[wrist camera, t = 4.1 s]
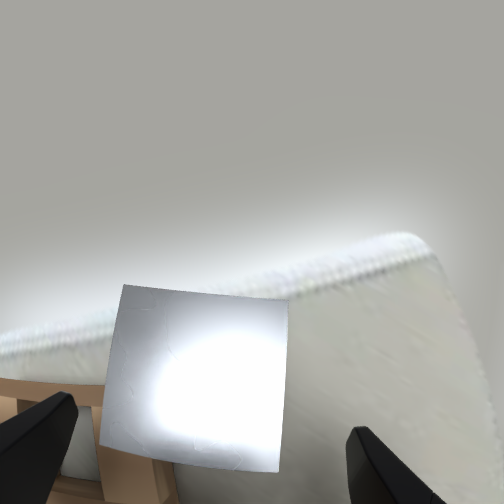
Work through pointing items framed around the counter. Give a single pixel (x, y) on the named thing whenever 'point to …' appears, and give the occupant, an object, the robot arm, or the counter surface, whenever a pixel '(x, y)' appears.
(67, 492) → the socket block
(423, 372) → the counter surface
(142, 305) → the square bit
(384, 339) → the counter surface
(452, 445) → the counter surface
